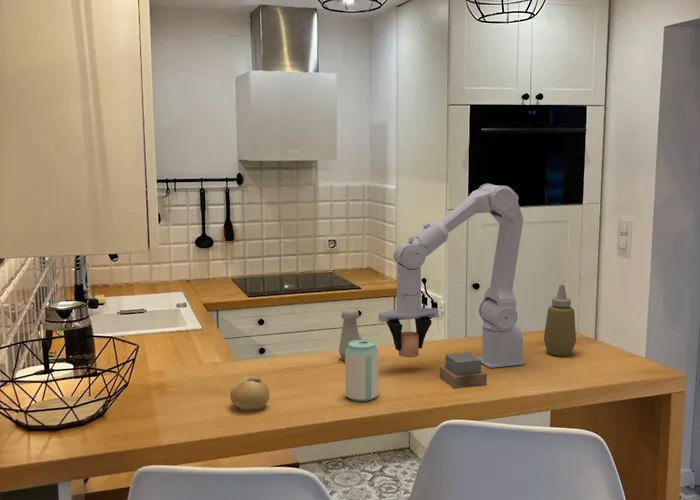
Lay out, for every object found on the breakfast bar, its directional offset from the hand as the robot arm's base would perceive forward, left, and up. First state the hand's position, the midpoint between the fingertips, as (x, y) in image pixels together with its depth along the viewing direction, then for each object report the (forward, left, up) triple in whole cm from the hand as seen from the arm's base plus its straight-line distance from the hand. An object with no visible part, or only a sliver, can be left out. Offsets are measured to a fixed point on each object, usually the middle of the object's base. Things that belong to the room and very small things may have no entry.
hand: (408, 348), depth 171 cm
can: (+16, +14, -6) cm, 22 cm away
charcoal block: (-9, +11, -3) cm, 14 cm away
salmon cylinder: (0, 0, -2) cm, 2 cm away
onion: (+40, +13, -6) cm, 42 cm away
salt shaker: (+11, -12, -6) cm, 17 cm away
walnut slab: (-9, +11, -6) cm, 15 cm away
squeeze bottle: (-42, -1, -6) cm, 42 cm away
